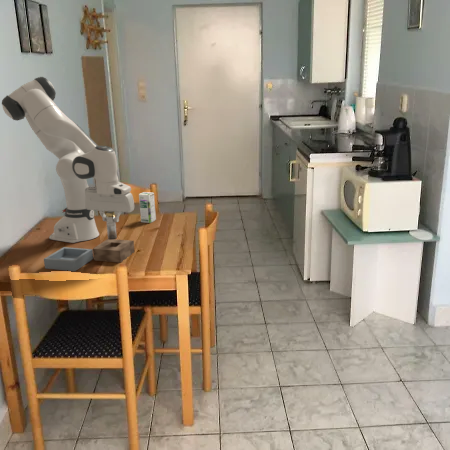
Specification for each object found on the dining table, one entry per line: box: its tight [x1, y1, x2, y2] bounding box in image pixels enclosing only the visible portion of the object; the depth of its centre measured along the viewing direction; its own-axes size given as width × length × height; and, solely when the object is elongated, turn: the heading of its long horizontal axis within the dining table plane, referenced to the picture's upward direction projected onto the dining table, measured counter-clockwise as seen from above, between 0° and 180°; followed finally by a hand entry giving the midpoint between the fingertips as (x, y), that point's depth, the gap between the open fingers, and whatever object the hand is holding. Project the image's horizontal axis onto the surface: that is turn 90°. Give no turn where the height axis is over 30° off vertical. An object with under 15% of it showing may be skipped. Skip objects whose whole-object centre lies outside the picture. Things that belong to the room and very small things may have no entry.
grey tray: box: [43, 246, 94, 272], centre depth 195 cm, size 13×13×4 cm
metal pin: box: [105, 211, 118, 240], centre depth 198 cm, size 4×4×11 cm
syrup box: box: [138, 191, 157, 224], centre depth 245 cm, size 6×6×14 cm
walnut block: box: [92, 238, 135, 263], centre depth 201 cm, size 12×12×5 cm
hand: (110, 221), depth 197 cm, fingers closed on metal pin, 3 cm apart
